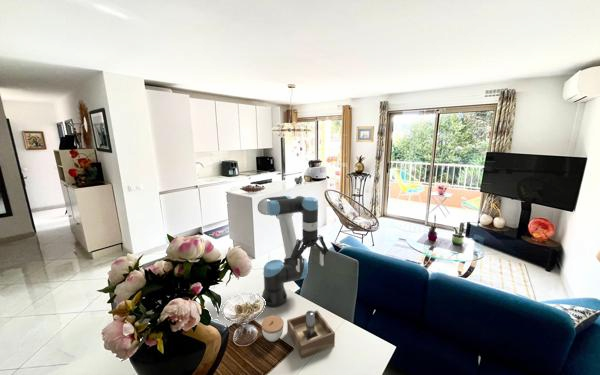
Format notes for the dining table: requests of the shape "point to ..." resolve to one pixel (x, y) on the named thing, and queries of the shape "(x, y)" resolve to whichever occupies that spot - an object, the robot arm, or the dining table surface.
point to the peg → (310, 325)
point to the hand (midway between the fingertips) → (309, 267)
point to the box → (314, 345)
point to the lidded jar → (272, 328)
